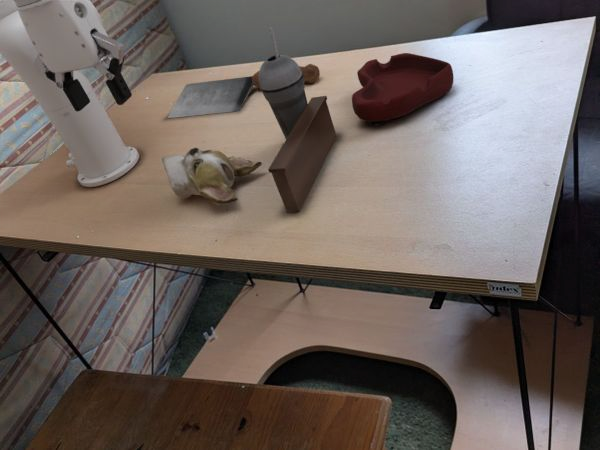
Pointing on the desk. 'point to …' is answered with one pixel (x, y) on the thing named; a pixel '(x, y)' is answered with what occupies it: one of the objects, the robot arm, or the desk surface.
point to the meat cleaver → (223, 94)
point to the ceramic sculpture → (206, 174)
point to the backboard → (303, 154)
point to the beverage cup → (283, 88)
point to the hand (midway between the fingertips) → (103, 103)
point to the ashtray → (399, 86)
